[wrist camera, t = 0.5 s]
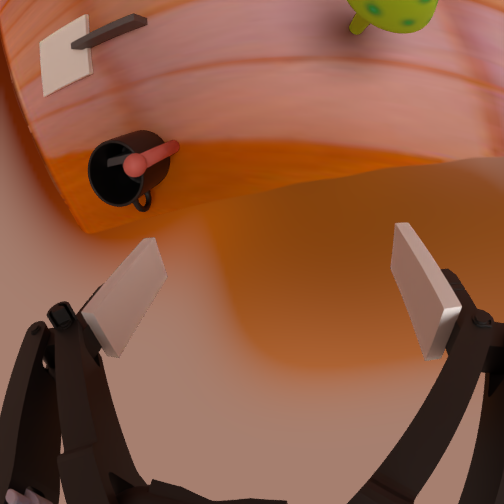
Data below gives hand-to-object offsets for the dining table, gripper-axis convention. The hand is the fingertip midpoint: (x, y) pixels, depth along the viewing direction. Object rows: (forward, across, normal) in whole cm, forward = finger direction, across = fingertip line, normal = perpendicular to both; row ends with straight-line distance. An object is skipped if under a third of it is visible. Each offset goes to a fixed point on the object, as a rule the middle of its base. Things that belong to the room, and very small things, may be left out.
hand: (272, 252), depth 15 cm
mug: (+28, -22, +1) cm, 36 cm away
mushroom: (+28, +11, +18) cm, 35 cm away
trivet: (+28, -34, +25) cm, 51 cm away
